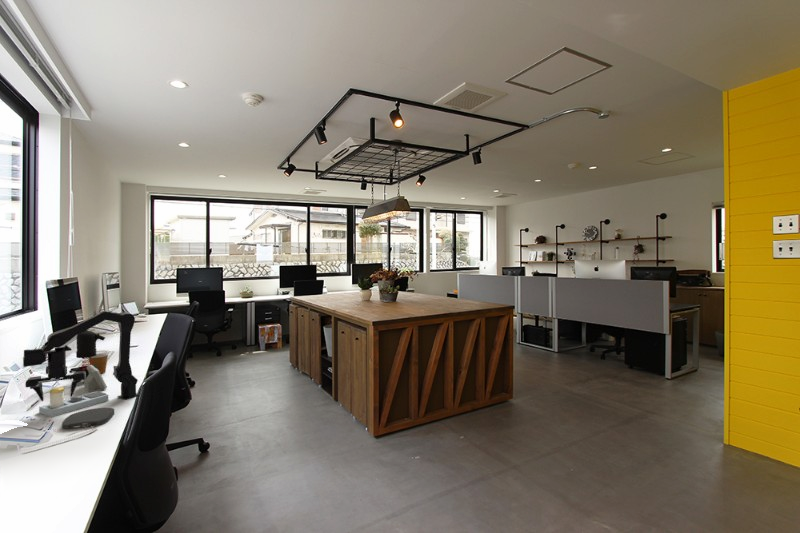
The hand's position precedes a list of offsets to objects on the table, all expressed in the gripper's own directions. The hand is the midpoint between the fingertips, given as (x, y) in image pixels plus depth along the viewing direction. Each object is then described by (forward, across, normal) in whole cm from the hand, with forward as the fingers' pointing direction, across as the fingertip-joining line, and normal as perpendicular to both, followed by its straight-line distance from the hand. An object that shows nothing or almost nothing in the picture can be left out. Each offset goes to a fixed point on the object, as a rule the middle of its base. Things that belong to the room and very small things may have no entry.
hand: (57, 398), depth 163 cm
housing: (+5, -6, -3) cm, 8 cm away
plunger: (+5, -6, -4) cm, 8 cm away
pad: (+3, -12, -7) cm, 14 cm away
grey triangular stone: (+6, -11, -29) cm, 32 cm away
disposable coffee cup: (+6, -10, -59) cm, 60 cm away
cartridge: (+5, 0, 0) cm, 5 cm away
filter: (+6, -7, -43) cm, 44 cm away
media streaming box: (+6, -12, +20) cm, 24 cm away
